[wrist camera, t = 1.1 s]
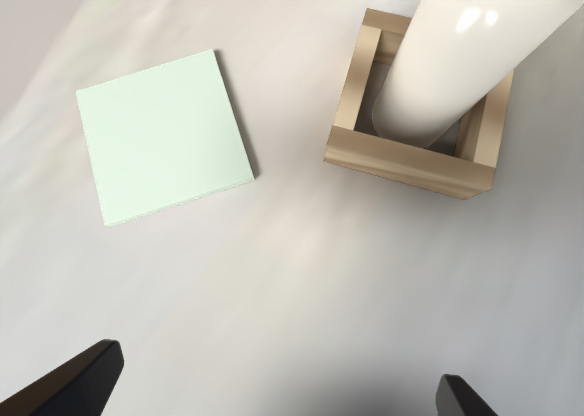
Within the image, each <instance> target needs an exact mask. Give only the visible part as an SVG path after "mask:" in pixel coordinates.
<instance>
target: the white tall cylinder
mask: <svg viewBox="0 0 584 416" xmlns="http://www.w3.org/2000/svg"><path fill="white" fill-rule="evenodd" d="M583 3H584V0H420V3H419V5H418V7H417V9H416V12H415V14H414V16H413V18H412V20H411V23H410V25H409V27H408V29H407V32H406V34H405V36H404V38H403V40H402V43H401V45H400V47H399V49H398V51H397V54H396V56H395V58H394V60H393V63H392V65H391V67H390V69H389V71H388V74H387V76H386V78H385V80H384V83H383V85H382V87H381V89H380V91H379V94H378V96H377V98H376V100H375V102H374V105H373V109H372V121H373V125H374V128H375V130H376V132H377V133H378V135H379V136H380V137H381V138H384V139H388V140H391V141H395V142H399V143H403V144H407V145H410V146H414V147H418V148H422V149H423V148H425V147H428V146H429V145H431V144H433V143H434V142H435V141H436V140H437V139H438V138H439V137H440V136H441V135H443V134H444V133H445V132H446V131H447V130H448V129H449V128H450V127H451V126H452V125H453V124H454V123H456V122H457V121H458V120H459V119H460V118H461V117H462V116H463V115H464V114H465V113H466V112H467V111H469V110H470V109H471V108H472V107H473V106H474V105H475V104H476V103H477V102H478V101H479V100H480V99H482V98H483V97H484V96H485V95H486V94H487V93H488V92H489V91H490V90H491V89H492V88H493V87H494V86H496V85H497V84H498V83H499V82H500V81H501V80H502V79H503V78H504V77H505V76H506V75H507V74H509V73H510V72H511V71H512V70H513V69H514V68H515V67H516V66H517V65H518V64H519V63H520V62H522V61H523V60H524V59H525V58H526V57H527V56H528V55H529V54H530V53H531V52H532V51H533V50H535V49H536V48H537V47H538V46H539V45H540V44H541V43H542V42H543V41H544V40H545V39H546V38H547V37H549V36H550V35H551V34H552V33H553V32H554V31H555V30H556V29H557V28H558V27H559V26H560V25H562V24H563V23H564V22H565V21H566V20H567V19H568V18H569V17H570V16H571V15H572V14H573V13H575V12H576V11H577V10H578V9H579V8H580V6H581V5H582V4H583Z"/></svg>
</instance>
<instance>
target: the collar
mask: <svg viewBox="0 0 584 416" xmlns="http://www.w3.org/2000/svg"><path fill="white" fill-rule="evenodd" d="M411 20H412V18H408V17H404V16H399V15H395V14H391V13H386V12H382V11H378V10H373V9H369V8H367V9H366V13H365V16H364V20H363V23H362V26H361V30H360V33H359V37H358V40H357V43H356V47H355V50H354V54H353V57H352V60H351V64H350V67H349V71H348V74H347V77H346V81H345V84H344V88H343V91H342V94H341V98H340V101H339V105H338V108H337V111H336V115H335V118H334V122H333V125H332V128H331V132H330V135H329V139H328V142H327V146H326V151H325V155H324V160H323V161H325V162H328V163H332V164H336V165H339V166H343V167H347V168H350V169H354V170H358V171H361V172H365V173H369V174H372V175H376V176H380V177H383V178H387V179H391V180H394V181H398V182H402V183H405V184H409V185H413V186H416V187H420V188H424V189H427V190H431V191H435V192H438V193H442V194H446V195H449V196H453V197H457V198H460V199H464V200H465V199H467V198H470V197H472V196H475V195H477V194H480V193H482V192H485V191H487V190H490V189H492V185H493V180H494V175H495V169H496V164H497V159H498V153H499V148H500V143H501V138H502V132H503V127H504V122H505V116H506V111H507V106H508V101H509V95H510V90H511V85H512V79H513V74H514V69H515V68H514V69H513V70H512V71H511V72H510V73H509V74H507V75H506V76H505V77H504V78H503V79H502V80H501V81H500V82H499V83H498V84H497V85H496V86H494V87H493V88H492V89H491V90H490V91H489V92H488V93H487V94H486V95H485V96H484V97H483V98H482V99H480V100H479V101H478V102H477V103H476V104H475V105H474V106H473V107H472V108H471V109H470V110H469V111H467V112H466V113H465V114H464V115H463V116H462V119H461V124H460V128H459V133H458V138H457V142H456V147H455V151H454V156H453V157H452V156H448V155H445V154H441V153H437V152H433V151H429V150H426V149H422V148H418V147H414V146H410V145H407V144H403V143H399V142H395V141H391V140H388V139H384V138H380V137H376V136H372V135H369V134H365V133H361V132H357V131H353V129H354V126H355V122H356V119H357V115H358V112H359V108H360V104H361V101H362V97H363V94H364V90H365V87H366V83H367V79H368V76H369V72H370V69H371V65H372V62H373V61H377V62H381V63H385V64H389V65H392V63H393V60H394V58H395V56H396V54H397V51H398V49H399V47H400V45H401V43H402V40H403V38H404V36H405V34H406V32H407V29H408V27H409V25H410V23H411Z"/></svg>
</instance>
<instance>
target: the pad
mask: <svg viewBox="0 0 584 416" xmlns="http://www.w3.org/2000/svg"><path fill="white" fill-rule="evenodd" d="M76 96H77V100H78V105H79V109H80V114H81V119H82V123H83V128H84V133H85V137H86V142H87V147H88V151H89V156H90V160H91V165H92V170H93V174H94V179H95V184H96V188H97V193H98V198H99V202H100V207H101V211H102V216H103V221H104V225H105V226H107V227H113V226H116V225H120V224H123V223H126V222H129V221H132V220H135V219H138V218H141V217H144V216H147V215H150V214H153V213H156V212H159V211H162V210H165V209H168V208H171V207H174V206H178V205H181V204H184V203H187V202H190V201H193V200H196V199H199V198H202V197H205V196H208V195H211V194H214V193H217V192H220V191H223V190H226V189H229V188H232V187H236V186H239V185H242V184H245V183H248V182H251V181H254V180H255V178H254V175H253V172H252V169H251V166H250V163H249V160H248V157H247V153H246V150H245V147H244V144H243V141H242V138H241V135H240V132H239V128H238V125H237V122H236V119H235V116H234V113H233V110H232V107H231V103H230V100H229V97H228V94H227V91H226V88H225V85H224V82H223V78H222V75H221V72H220V69H219V66H218V63H217V60H216V57H215V54H214V51H213V49H210V50H206V51H203V52H200V53H197V54H194V55H190V56H187V57H184V58H181V59H178V60H174V61H171V62H168V63H165V64H162V65H158V66H155V67H152V68H149V69H146V70H142V71H139V72H136V73H133V74H130V75H126V76H123V77H120V78H117V79H114V80H110V81H107V82H104V83H101V84H98V85H94V86H91V87H88V88H85V89H82V90H78V91H76Z"/></svg>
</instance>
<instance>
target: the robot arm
mask: <svg viewBox="0 0 584 416" xmlns="http://www.w3.org/2000/svg"><path fill="white" fill-rule="evenodd" d="M123 366H124V358H123V354H122V350H121V346H120V343H119V342H118V341H117V340H110V339H104V340H101V341H99V342H98V343H96V344H95V345H93V346H91V347H90V348H88V349H86V350H85V351H83V352H82V353H80V354H78V355H77V356H75V357H74V358H72V359H70V360H69V361H67V362H66V363H64V364H62V365H61V366H59V367H57V368H56V369H54V370H53V371H51V372H49V373H48V374H46V375H45V376H43V377H41V378H40V379H38V380H37V381H35V382H33V383H32V384H30V385H29V386H27V387H25V388H24V389H22V390H20V391H19V392H17V393H16V394H14V395H12V396H11V397H9V398H8V399H6V400H4V401H3V402H1V403H0V416H101V414H102V412H103V410H104V408H105V405H106V403H107V401H108V399H109V397H110V395H111V393H112V391H113V389H114V386H115V384H116V382H117V380H118V378H119V376H120V374H121V372H122V369H123ZM436 406H437V411H438V415H439V416H498V415H497V414H496V413H495V412H494V411H493V410H492V409H491V408H490V407H489V406H488V405H487V403H486V402H485V401H484V400H483V399H482V398H481V397H480V396H479V395H478V394H477V393H476V392H475V391H474V390H473V389H472V388H471V387H470V386H469V385H468V384H467V383H466V381H465V380H464V379H463V378H461V377H460V376H458V375H450V374H444V375H442V377H441V380H440V383H439V386H438V389H437V393H436Z"/></svg>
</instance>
